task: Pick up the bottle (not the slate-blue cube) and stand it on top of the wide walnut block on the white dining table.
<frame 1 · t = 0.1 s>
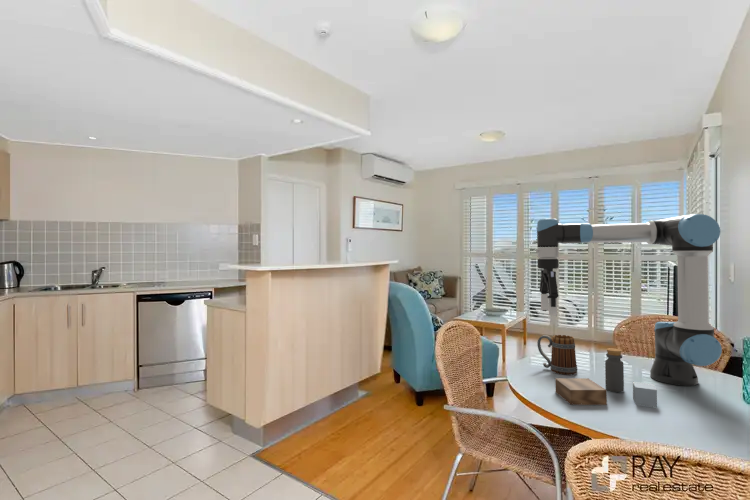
hand: (548, 312, 153), 28 cm above the table, fingers open, 13 cm apart
mug: (557, 371, 169), on the table
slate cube: (644, 403, 133), on the table
bottle: (614, 390, 146), on the table
walnut block: (580, 398, 138), on the table
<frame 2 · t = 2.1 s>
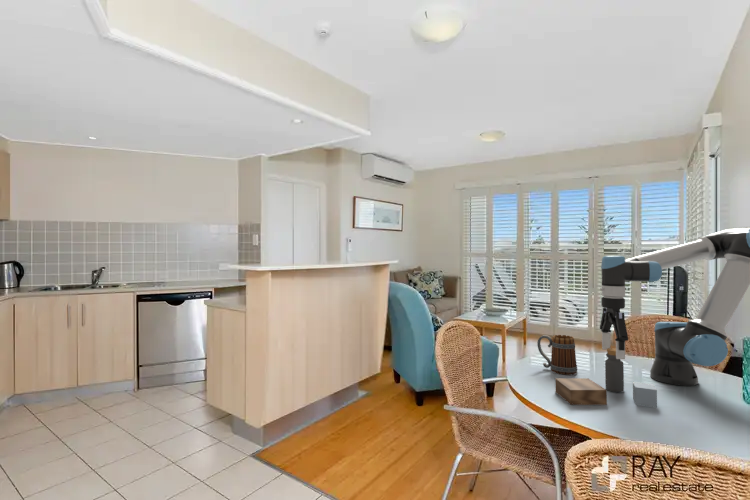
hand: (613, 354, 146), 13 cm above the table, fingers open, 13 cm apart
nothing on the table moved.
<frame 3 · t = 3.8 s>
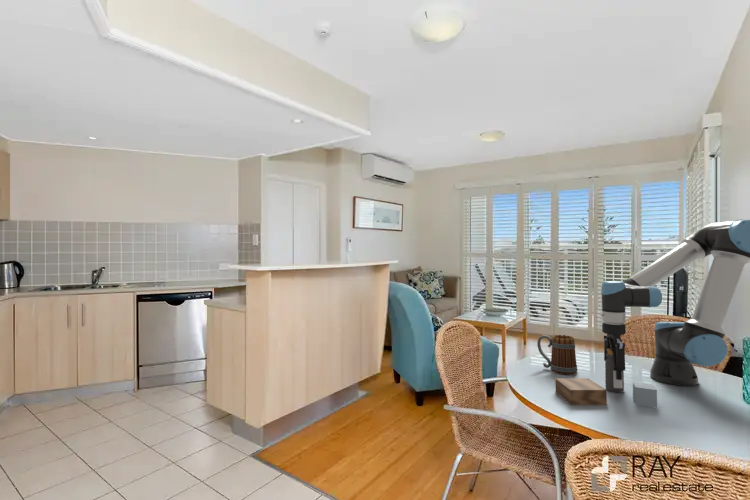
hand: (614, 384, 146), 2 cm above the table, fingers closed on bottle, 6 cm apart
bottle: (614, 390, 146), on the table, touching gripper
everything else where it was.
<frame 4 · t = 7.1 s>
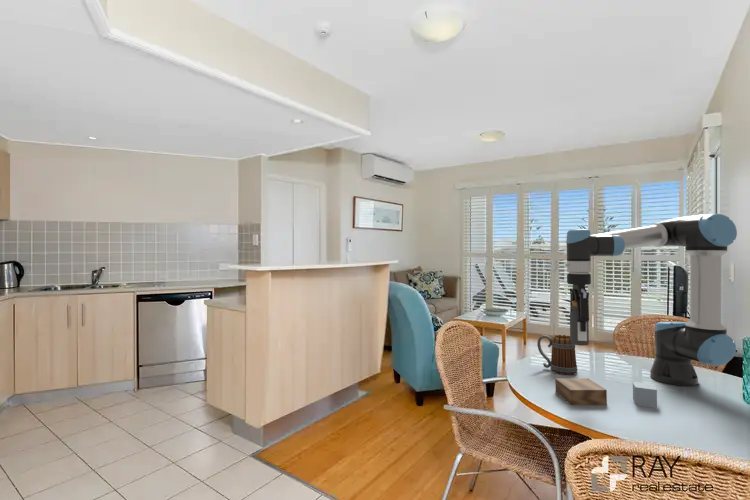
hand: (579, 338, 138), 21 cm above the table, fingers closed on bottle, 6 cm apart
bottle: (579, 344, 138), point 19 cm above the table, touching gripper
everything else where it was.
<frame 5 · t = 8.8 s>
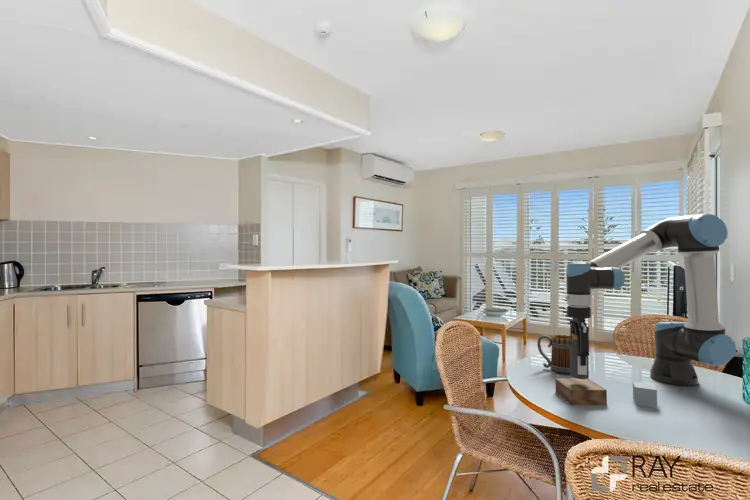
hand: (579, 371, 138), 9 cm above the table, fingers closed on bottle, 6 cm apart
bottle: (579, 377, 138), point 7 cm above the table, touching gripper
everything else where it was.
when the fingers open (7 cm above the table, at t = 10.4 s): bottle stays where it is, resting on walnut block.
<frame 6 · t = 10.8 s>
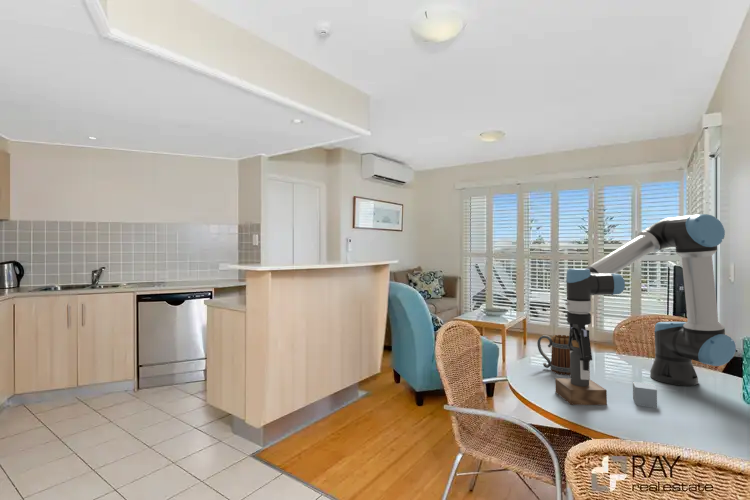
hand: (579, 373, 138), 9 cm above the table, fingers open, 11 cm apart
bottle: (579, 384, 138), point 5 cm above the table, touching walnut block
everything else where it was.
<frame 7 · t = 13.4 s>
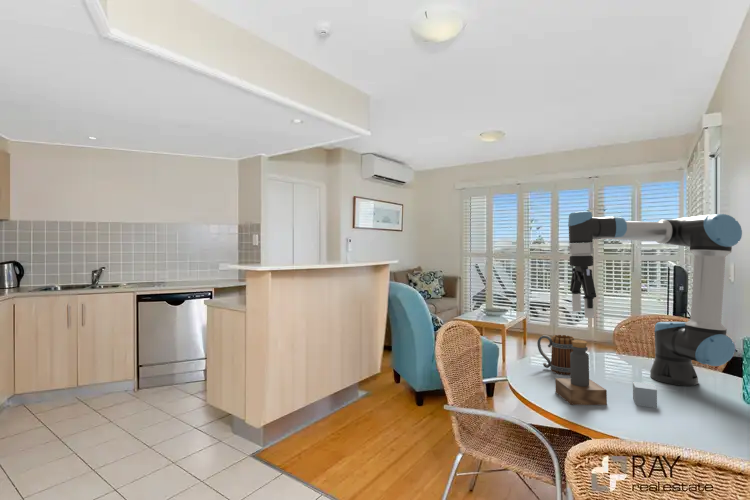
hand: (582, 314, 140), 29 cm above the table, fingers open, 13 cm apart
nothing on the table moved.
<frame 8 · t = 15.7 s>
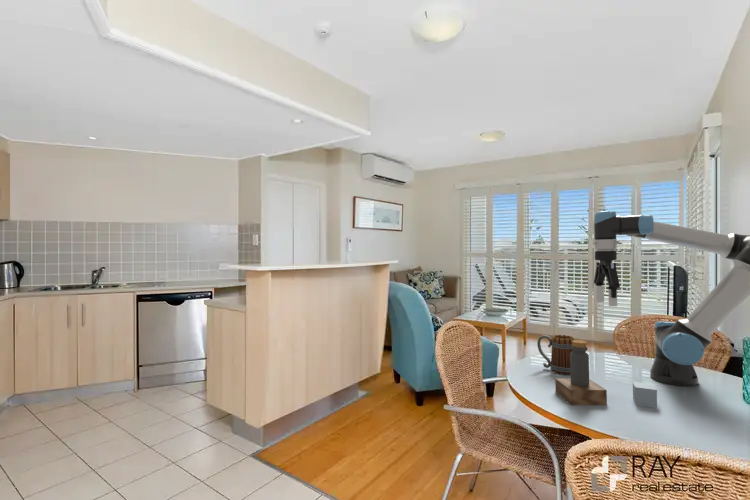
hand: (606, 303, 155), 31 cm above the table, fingers open, 13 cm apart
nothing on the table moved.
at the end: bottle 0.0 cm from the walnut block (horizontally); bottle point 4.8 cm above the table; bottle tilted 0° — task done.
